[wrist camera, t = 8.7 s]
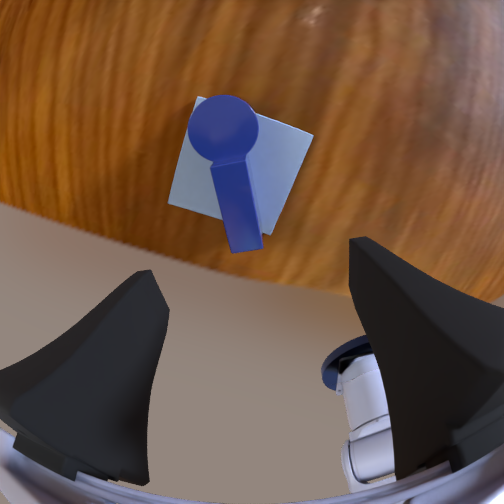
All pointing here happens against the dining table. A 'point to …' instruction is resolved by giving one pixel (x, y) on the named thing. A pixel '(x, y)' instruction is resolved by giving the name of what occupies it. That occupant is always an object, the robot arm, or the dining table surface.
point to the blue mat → (262, 164)
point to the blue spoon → (230, 164)
